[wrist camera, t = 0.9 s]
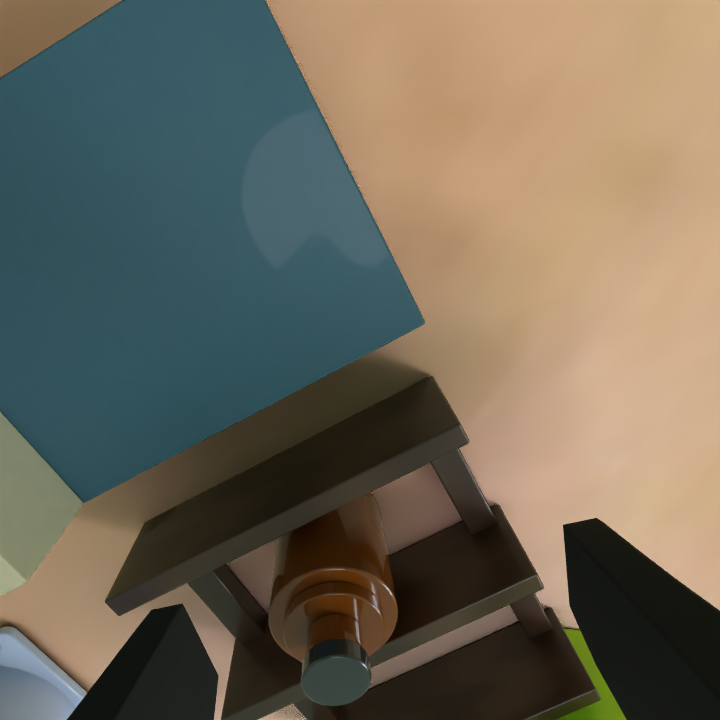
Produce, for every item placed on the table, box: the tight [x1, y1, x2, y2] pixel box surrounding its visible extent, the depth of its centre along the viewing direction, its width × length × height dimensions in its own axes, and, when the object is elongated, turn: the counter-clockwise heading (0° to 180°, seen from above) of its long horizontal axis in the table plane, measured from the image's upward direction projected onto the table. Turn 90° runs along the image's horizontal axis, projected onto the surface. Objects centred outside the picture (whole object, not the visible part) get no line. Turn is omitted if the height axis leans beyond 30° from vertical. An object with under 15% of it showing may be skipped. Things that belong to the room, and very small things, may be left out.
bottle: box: [268, 492, 398, 706], centre depth 17 cm, size 4×4×7 cm
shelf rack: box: [105, 376, 601, 720], centre depth 20 cm, size 13×14×4 cm
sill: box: [0, 0, 425, 596], centre depth 14 cm, size 14×11×6 cm
